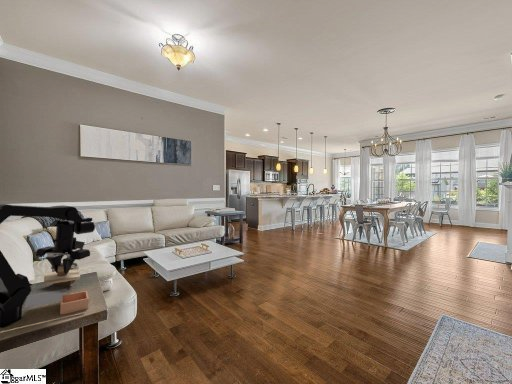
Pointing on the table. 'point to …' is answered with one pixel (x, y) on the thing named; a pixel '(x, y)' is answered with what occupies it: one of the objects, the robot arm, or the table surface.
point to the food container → (67, 283)
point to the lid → (61, 276)
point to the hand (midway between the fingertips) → (62, 273)
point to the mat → (44, 298)
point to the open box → (74, 302)
